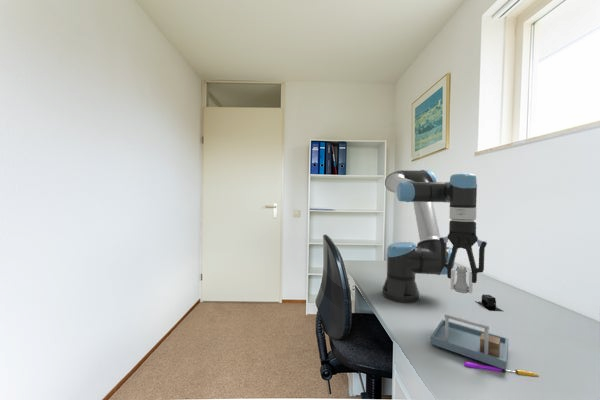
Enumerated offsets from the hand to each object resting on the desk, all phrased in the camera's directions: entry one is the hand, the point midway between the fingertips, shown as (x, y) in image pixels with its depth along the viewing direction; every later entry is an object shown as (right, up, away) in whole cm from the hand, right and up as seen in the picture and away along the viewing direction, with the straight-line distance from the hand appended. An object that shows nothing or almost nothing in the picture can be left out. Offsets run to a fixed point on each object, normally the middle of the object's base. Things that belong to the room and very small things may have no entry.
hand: (461, 290), depth 85 cm
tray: (-5, -13, -12) cm, 18 cm away
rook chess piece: (0, -1, 0) cm, 1 cm away
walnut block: (-3, -11, -17) cm, 21 cm away
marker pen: (-4, -13, -20) cm, 25 cm away
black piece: (+22, -14, +18) cm, 32 cm away
